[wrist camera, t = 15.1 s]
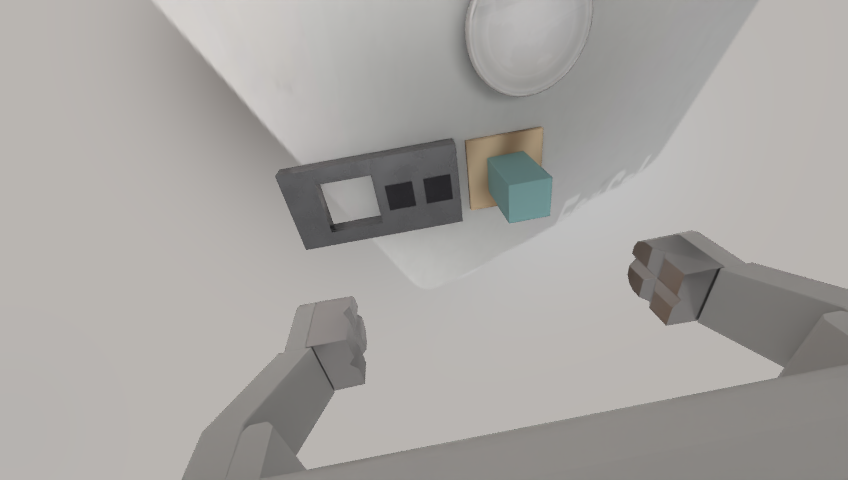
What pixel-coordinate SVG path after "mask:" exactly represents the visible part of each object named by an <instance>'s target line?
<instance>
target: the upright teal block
mask: <svg viewBox="0 0 848 480" xmlns="http://www.w3.org/2000/svg"><path fill="white" fill-rule="evenodd" d="M487 167H488V186H489V192H490V194H491V196H492V197H493V199H494V200H495V202H496V203H497V205H498V207H499V208H500V210H501V211H502V213H503V215H504V216H505V218H506V219H507V221H508V222H509V223H514V222H519V221H525V220H530V219H535V218H540V217H546V216H550V207H551V192H552V177H551V176H550V175H549V174H548V173H547V172H546V171H545V170H544V169H543V168H542V167H541V166H539V165H538V164H537V163H536V162H535V161H534V160H533V159H532V158H531V157H530V156H529V155H527V154H526V153H525V152H524V151H521V152H515V153H510V154H505V155H500V156H494V157H489V158H487Z"/></svg>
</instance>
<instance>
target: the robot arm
mask: <svg viewBox="0 0 848 480" xmlns="http://www.w3.org/2000/svg"><path fill="white" fill-rule="evenodd" d="M632 254H633V255H634V256H635V258H636V259H635V260H634V261H633V262H632V263H631V264H630V266H629V270H628V279H629V283H630V285H631V287H632V289H633V291H634V292H635V293H636V294H637V295H638V296H639V297H641V298H643V299H645V300H648V301H650V306H649V308H650V309H651V310H652V311H653V312H654V313H655V314H656V315H657V316H658V317H659V318H660V320H661V321H662V322H663V323H664V324H665V325H673V324H679V323H684V322H691V321H696V320H698V323H700V324H702V325H704V326H706V327H708V328H710V329H712V330H714V331H716V332H718V333H720V334H721V335H723V336H725V337H727V338H729V339H731V340H733V341H735V342H737V343H739V344H741V345H742V346H744V347H746V348H748V349H750V350H752V351H754V352H756V353H758V354H760V355H762V356H763V357H766V358H767V359H769V360H771V361H773V362H775V363H777V364H779V365H781V366H783V367H784V369H783V370H782V372H781V373H780V375H779V376H778V377H777V378H775V379H770V380H764V381H759V382H754V383H749V384H744V385H739V386H733V387H728V388H723V389H718V390H713V391H708V392H703V393H698V394H693V395H687V396H682V397H678V398H672V399H667V400H662V401H657V402H652V403H647V404H641V405H637V406H632V407H626V408H621V409H616V410H611V411H606V412H600V413H595V414H590V415H585V416H580V417H575V418H570V419H565V420H560V421H555V422H549V423H544V424H539V425H534V426H530V427H524V428H519V429H514V430H509V431H504V432H498V433H493V434H488V435H483V436H478V437H473V438H468V439H463V440H457V441H452V442H447V443H442V444H437V445H432V446H427V447H422V448H416V449H411V450H406V451H401V452H396V453H391V454H386V455H381V456H375V457H370V458H365V459H361V460H355V461H350V462H345V463H340V464H334V465H330V466H325V467H319V468H314V469H309V470H306V469H305V467H304V466H303V465H302V463H301V462H300V461H299V460H298V458H297V457H296V455H297V453H298V452H299V450H300V448H301V447H302V445H303V443H304V442H305V440H306V438H307V437H308V435H309V433H310V432H311V430H312V428H313V427H314V425H315V424H316V422H317V420H318V419H319V417H320V415H321V414H322V412H323V411H324V409H325V407H326V406H327V404H328V402H329V401H330V399H331V397H332V396H333V394H334V391H335V390H339V389H344V388H348V387H353V386H357V385H362V384H365V371H366V370H365V369H366V362H365V359H364V356H363V353H364V352H365V350H366V344H367V340H366V330H365V326H364V322H363V320H362V317H361V316H359V315H357V308H358V306H357V303H356V301H355V298H354V297H352V296H350V297H344V298H338V299H332V300H326V301H320V302H317V303H310V304H305V305H300V306H299V307H298V308H297V310H296V314H295V317H294V320H293V324H292V327H291V331H290V334H289V338H288V341H287V345H286V348H285V352H284V353H279V354H278V355H277V356H276V357H275V358H274V359H273V360H272V361H271V362H270V363H269V364H268V365H267V366H266V367H265V368H264V369H263V370H262V371H261V372H260V373H259V374H258V375H257V376H256V378H255V379H254V380H253V381H252V382H251V383H250V384H249V385H248V386H247V387H246V388H245V389H244V390H243V391H242V392H241V393H240V394H239V395H238V396H237V397H236V398H235V399H234V400H233V401H232V402H231V403H230V404H229V405H228V406H227V407H226V408H225V409H224V411H222V413H220V415H219V416H218V417H217V418H216V419H215V420H214V421H213V422H212V423H211V424H210V425H209V426H208V427H207V428H206V429H205V430H204V431H203V432H202V434H201V436H200V438H199V441H198V443H197V445H196V448H195V450H194V452H193V454H192V457H191V459H190V461H189V464H188V466H187V468H186V471H185V473H184V475H183V478H182V480H848V289H845V288H841V287H838V286H834V285H831V284H827V283H824V282H820V281H816V280H813V279H809V278H806V277H802V276H798V275H795V274H791V273H788V272H784V271H781V270H777V269H773V268H770V267H766V266H763V265H759V264H756V263H747V264H746V263H745V262H743V261H742V260H740V259H739V258H737V257H736V256H734V255H733V254H731V253H730V252H728V251H727V250H725V249H724V248H722V247H720V246H719V245H717V244H716V243H714V242H713V241H711V240H710V239H708V238H707V237H705V236H704V235H702V234H701V233H699V232H696V231H692V230H691V231H687V232H682V233H677V234H673V235H669V236H664V237H658V238H653V239H648V240H643V241H638V242H637V243H636V245H635V246H634V249H633V253H632Z"/></svg>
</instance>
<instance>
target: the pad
mask: <svg viewBox="0 0 848 480" xmlns="http://www.w3.org/2000/svg"><path fill="white" fill-rule="evenodd" d="M542 144H543V128H542V127H537V128H531V129H526V130H520V131H515V132H509V133H504V134H498V135H492V136H487V137H481V138H476V139H470V140H465V146H466V159H467V172H468V185H469V198H470V209H471V210H476V209H482V208H487V207H493V206H498V205H497V203H496V202H495V200H494V199H493V197H492V196H491V194H490V192H489V186H488V167H487V158H489V157H494V156H500V155H505V154H510V153H515V152H521V151H524V152H525V153H526V154H527V155H529V156H530V157H531V158H532V159H533V160H534V161H535V162H536V163H537V164H538V165H539V166H541V163H542Z"/></svg>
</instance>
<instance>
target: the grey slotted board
mask: <svg viewBox="0 0 848 480" xmlns="http://www.w3.org/2000/svg"><path fill="white" fill-rule="evenodd" d="M368 175H371V177H372V181H373V185H374V189H375V193H376V197H377V201H378V205H379V209H380V213H381V216H376V217H371V218H365V219H360V220H354V221H349V222H343V223H339V224H333V221H332V218H331V216H330V212H329V210H328V207H327V204H326V201H325V198H324V195H323V192H322V189H321V187H320V184H324V183H330V182H335V181H341V180H346V179H352V178H357V177H363V176H368ZM276 179H277V182H278V184H279V187H280V189H281V191H282V194H283V196H284V198H285V201H286V203H287V205H288V208H289V210H290V213H291V215H292V217H293V220H294V222H295V224H296V227H297V229H298V232H299V234H300V236H301V239H302V241H303V244H304V246H305V248H306V250H308V249H314V248H319V247H325V246H330V245H336V244H341V243H347V242H352V241H357V240H363V239H368V238H374V237H379V236H385V235H390V234H396V233H401V232H406V231H412V230H417V229H423V228H428V227H434V226H439V225H444V224H450V223H455V222H461V221H462V211H461V200H460V190H459V179H458V169H457V158H456V148H455V143H454V141H453V140H452V139H446V140H441V141H435V142H430V143H424V144H419V145H413V146H408V147H402V148H397V149H391V150H386V151H380V152H374V153H369V154H363V155H358V156H352V157H347V158H341V159H336V160H330V161H325V162H319V163H314V164H308V165H303V166H297V167H292V168H286V169H281V170H279V171H278V173H277V174H276Z"/></svg>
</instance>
